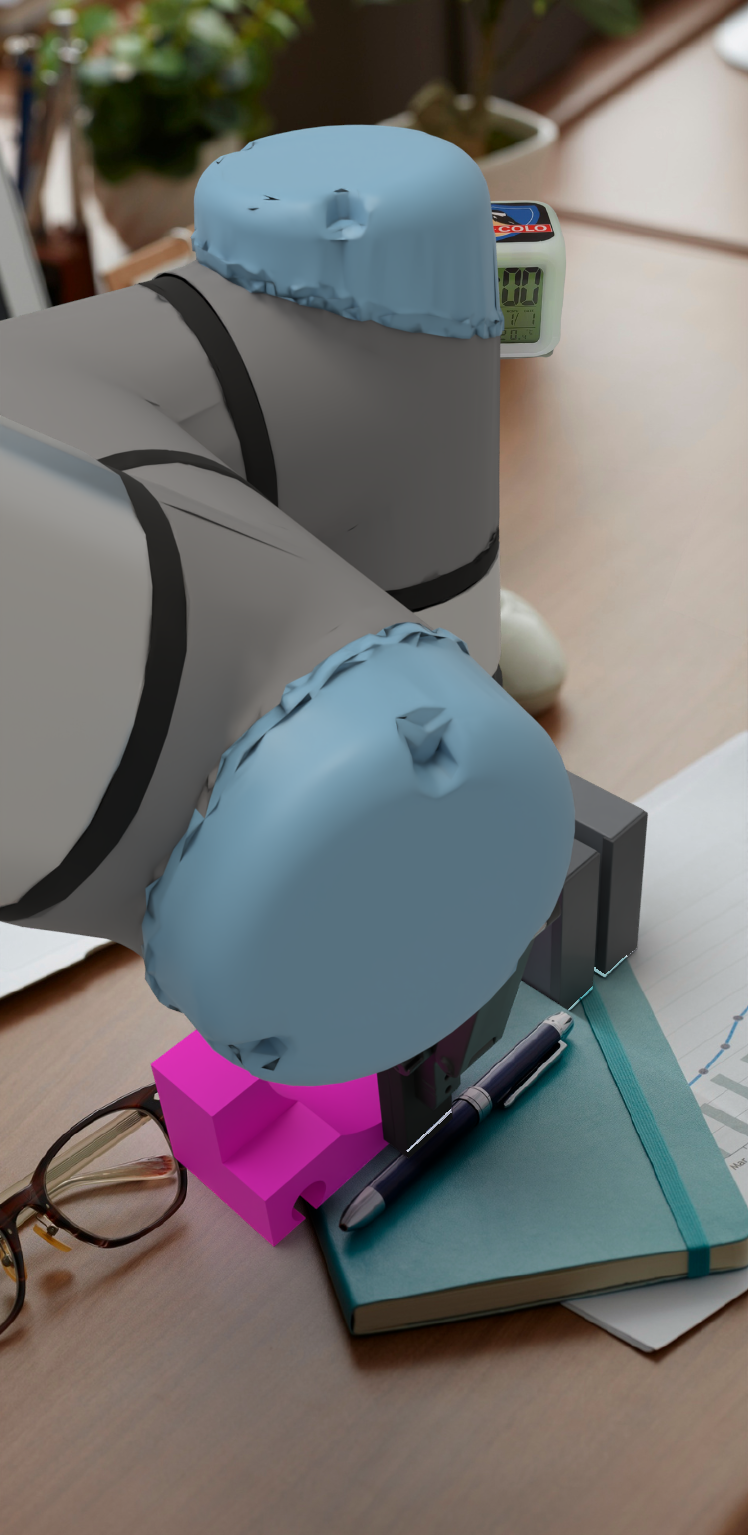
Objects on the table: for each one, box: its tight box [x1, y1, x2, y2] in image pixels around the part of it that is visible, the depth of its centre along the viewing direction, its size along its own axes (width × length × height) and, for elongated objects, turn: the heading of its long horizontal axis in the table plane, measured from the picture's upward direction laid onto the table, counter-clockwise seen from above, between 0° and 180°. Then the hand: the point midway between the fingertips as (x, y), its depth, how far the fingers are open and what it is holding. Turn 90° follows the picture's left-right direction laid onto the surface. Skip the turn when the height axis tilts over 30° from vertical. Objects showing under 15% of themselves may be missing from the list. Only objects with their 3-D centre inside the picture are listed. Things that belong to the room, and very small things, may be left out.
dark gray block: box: [566, 769, 649, 974], centre depth 68 cm, size 3×8×9 cm, turn 46°
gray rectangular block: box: [521, 839, 600, 1011], centre depth 66 cm, size 3×8×9 cm, turn 46°
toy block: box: [150, 1028, 390, 1248], centre depth 60 cm, size 15×6×8 cm, turn 135°
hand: (418, 1128), depth 59 cm, fingers closed
